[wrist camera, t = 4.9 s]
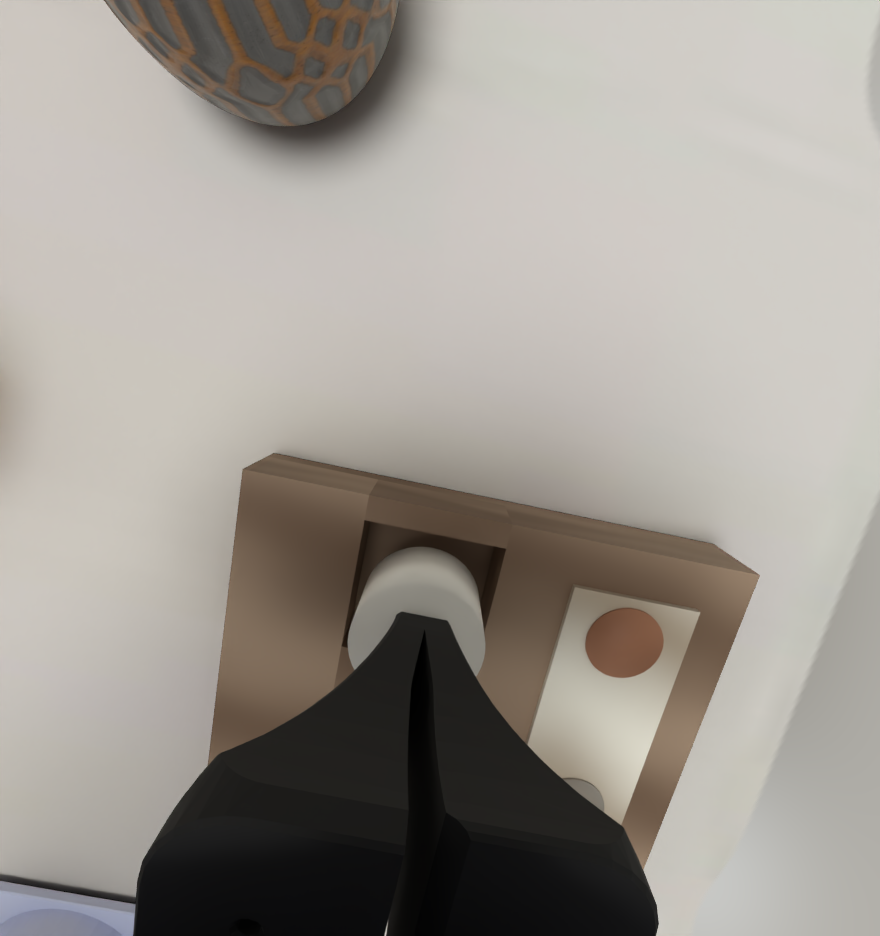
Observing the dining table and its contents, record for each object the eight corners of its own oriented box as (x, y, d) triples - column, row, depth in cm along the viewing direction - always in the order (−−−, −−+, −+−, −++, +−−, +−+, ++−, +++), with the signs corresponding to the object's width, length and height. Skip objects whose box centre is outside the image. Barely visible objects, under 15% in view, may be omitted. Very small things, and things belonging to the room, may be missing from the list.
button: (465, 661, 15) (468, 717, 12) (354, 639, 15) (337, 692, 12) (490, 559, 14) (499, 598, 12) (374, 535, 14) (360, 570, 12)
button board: (572, 931, 21) (591, 1017, 18) (218, 868, 20) (183, 948, 17) (713, 544, 17) (766, 579, 14) (273, 453, 16) (238, 471, 13)
